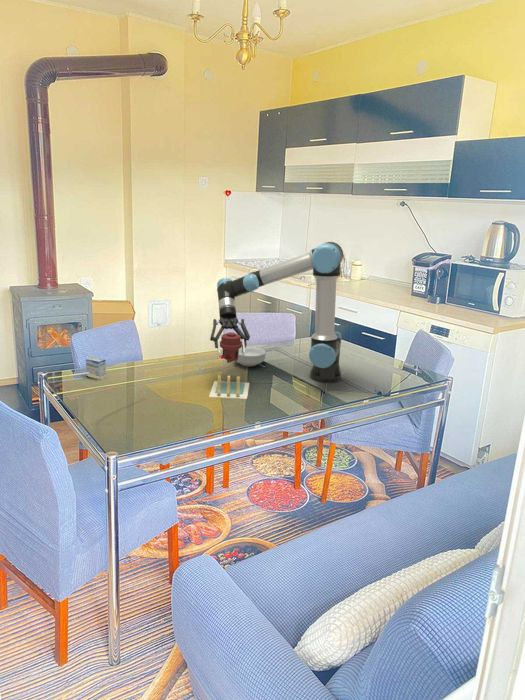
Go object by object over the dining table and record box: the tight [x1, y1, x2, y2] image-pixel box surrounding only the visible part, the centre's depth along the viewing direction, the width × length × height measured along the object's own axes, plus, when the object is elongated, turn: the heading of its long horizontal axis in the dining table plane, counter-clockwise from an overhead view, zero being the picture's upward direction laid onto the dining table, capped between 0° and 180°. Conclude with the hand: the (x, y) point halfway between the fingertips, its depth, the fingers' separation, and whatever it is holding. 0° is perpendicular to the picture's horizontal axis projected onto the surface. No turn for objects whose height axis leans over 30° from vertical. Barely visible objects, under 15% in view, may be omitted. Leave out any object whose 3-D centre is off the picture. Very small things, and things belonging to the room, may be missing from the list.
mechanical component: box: [219, 332, 242, 364], centre depth 223 cm, size 12×10×10 cm
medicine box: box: [85, 356, 107, 377], centre depth 233 cm, size 8×4×9 cm, turn 68°
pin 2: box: [226, 375, 231, 397], centre depth 215 cm, size 1×1×9 cm
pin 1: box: [217, 374, 222, 396], centre depth 216 cm, size 1×1×9 cm
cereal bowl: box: [235, 346, 267, 367], centre depth 260 cm, size 17×17×7 cm
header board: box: [208, 380, 250, 400], centre depth 224 cm, size 16×19×1 cm
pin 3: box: [236, 375, 241, 397], centre depth 215 cm, size 1×1×9 cm
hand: (231, 354), depth 220 cm, fingers closed on mechanical component, 10 cm apart
